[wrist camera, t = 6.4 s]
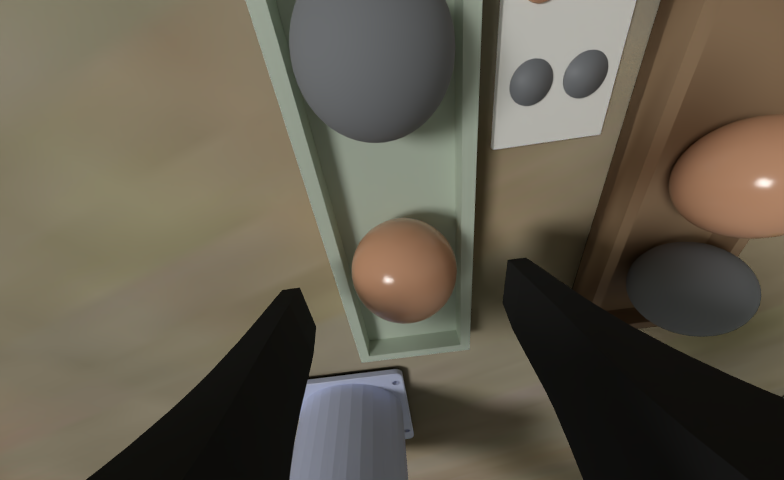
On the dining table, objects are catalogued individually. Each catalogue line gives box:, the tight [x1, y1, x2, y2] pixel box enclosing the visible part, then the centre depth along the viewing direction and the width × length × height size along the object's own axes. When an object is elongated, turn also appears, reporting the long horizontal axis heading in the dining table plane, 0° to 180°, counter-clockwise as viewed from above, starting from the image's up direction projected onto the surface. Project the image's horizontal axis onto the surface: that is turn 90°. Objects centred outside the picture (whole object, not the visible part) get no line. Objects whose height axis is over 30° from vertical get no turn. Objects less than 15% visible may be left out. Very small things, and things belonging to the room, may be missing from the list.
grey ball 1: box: [289, 0, 455, 143], centre depth 7 cm, size 4×4×4 cm
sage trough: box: [246, 0, 636, 363], centre depth 11 cm, size 18×11×2 cm, turn 7°
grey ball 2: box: [626, 242, 761, 336], centre depth 12 cm, size 4×4×4 cm
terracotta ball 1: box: [352, 218, 457, 324], centre depth 11 cm, size 4×4×4 cm
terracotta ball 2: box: [669, 114, 784, 239], centre depth 10 cm, size 4×4×4 cm
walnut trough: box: [572, 0, 784, 329], centre depth 11 cm, size 18×6×2 cm, turn 7°
